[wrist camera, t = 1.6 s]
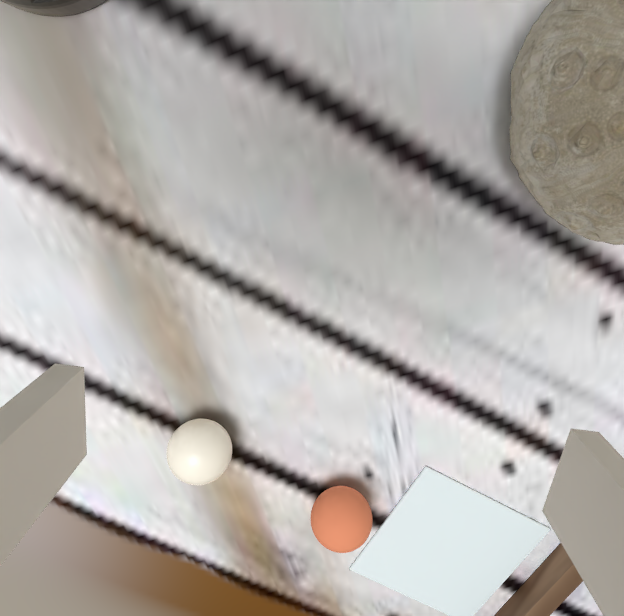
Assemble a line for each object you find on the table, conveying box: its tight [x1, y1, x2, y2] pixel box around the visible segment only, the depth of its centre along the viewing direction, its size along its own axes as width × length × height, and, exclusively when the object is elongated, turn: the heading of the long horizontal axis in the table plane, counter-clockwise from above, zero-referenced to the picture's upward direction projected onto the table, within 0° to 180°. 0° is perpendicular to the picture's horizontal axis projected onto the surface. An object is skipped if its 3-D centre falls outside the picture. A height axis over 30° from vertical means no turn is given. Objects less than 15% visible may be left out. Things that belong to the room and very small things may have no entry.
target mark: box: [349, 466, 551, 616], centre depth 47 cm, size 14×14×1 cm
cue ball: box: [167, 418, 232, 485], centre depth 42 cm, size 6×6×6 cm
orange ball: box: [311, 486, 372, 553], centre depth 43 cm, size 6×6×6 cm
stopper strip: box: [495, 543, 583, 616], centre depth 48 cm, size 2×20×2 cm, turn 151°
